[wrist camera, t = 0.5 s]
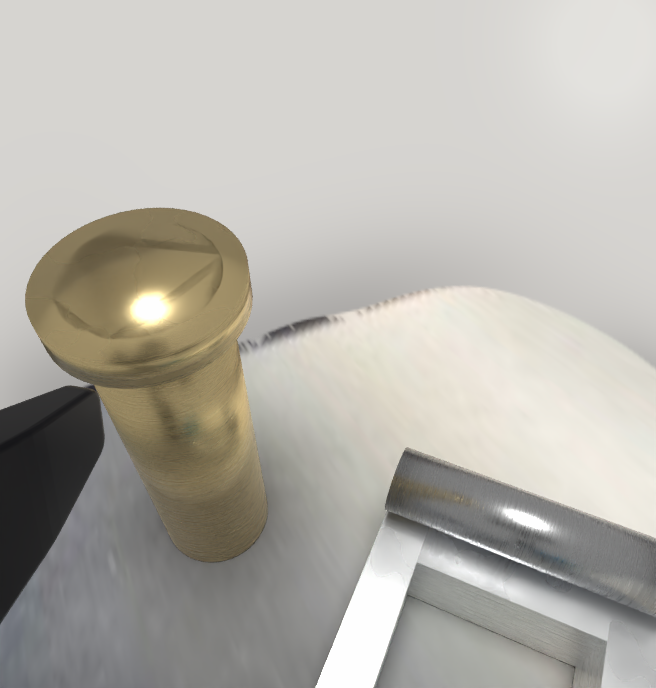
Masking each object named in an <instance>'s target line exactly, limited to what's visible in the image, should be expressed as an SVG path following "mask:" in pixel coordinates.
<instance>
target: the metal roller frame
mask: <svg viewBox="0 0 656 688" xmlns="http://www.w3.org/2000/svg"><path fill="white" fill-rule="evenodd" d="M385 510H387V512H386V514H385V517H384V519H383V522H382V524H381V527H380V529H379V532H378V534H377V537H376V539H375V542H374V544H373V547H372V549H371V552H370V554H369V557H368V559H367V562H366V564H365V567H364V569H363V572H362V574H361V577H360V579H359V582H358V584H357V587H356V589H355V592H354V594H353V597H352V599H351V602H350V604H349V607H348V609H347V612H346V614H345V617H344V619H343V622H342V624H341V627H340V629H339V632H338V634H337V636H336V639H335V641H334V644H333V646H332V649H331V651H330V654H329V656H328V659H327V661H326V664H325V666H324V669H323V671H322V674H321V676H320V679H319V681H318V684H317V686H316V688H375V687H376V685H377V682H378V679H379V676H380V673H381V670H382V667H383V664H384V661H385V659H386V656H387V653H388V650H389V647H390V644H391V641H392V638H393V635H394V633H395V630H396V627H397V624H398V621H399V618H400V615H401V612H402V610H403V607H404V604H405V601H406V598H407V595H410V596H412V597H414V598H417V599H419V600H421V601H424V602H426V603H428V604H431V605H433V606H435V607H437V608H440V609H442V610H444V611H447V612H449V613H451V614H454V615H456V616H458V617H461V618H463V619H465V620H468V621H470V622H472V623H474V624H477V625H479V626H481V627H484V628H486V629H488V630H491V631H493V632H495V633H498V634H500V635H502V636H505V637H507V638H509V639H511V640H514V641H516V642H518V643H521V644H523V645H525V646H528V647H530V648H532V649H535V650H537V651H539V652H541V653H544V654H546V655H548V656H551V657H553V658H555V659H558V660H560V661H562V662H565V663H567V664H569V665H572V666H574V667H575V672H574V678H573V684H572V688H656V538H654V537H651V536H648V535H645V534H643V533H640V532H637V531H635V530H632V529H629V528H626V527H624V526H621V525H618V524H615V523H613V522H610V521H607V520H605V519H602V518H599V517H596V516H594V515H591V514H588V513H585V512H583V511H580V510H577V509H575V508H572V507H569V506H566V505H564V504H561V503H558V502H555V501H553V500H550V499H547V498H545V497H542V496H539V495H536V494H534V493H531V492H528V491H525V490H523V489H520V488H517V487H514V486H512V485H509V484H506V483H504V482H501V481H498V480H495V479H493V478H490V477H487V476H484V475H482V474H479V473H476V472H474V471H471V470H468V469H465V468H463V467H460V466H457V465H454V464H452V463H449V462H446V461H444V460H441V459H438V458H435V457H433V456H430V455H427V454H424V453H422V452H419V451H416V450H413V449H411V448H408V447H407V448H406V449H405V450H404V452H403V454H402V457H401V459H400V461H399V464H398V466H397V469H396V471H395V474H394V477H393V480H392V483H391V486H390V489H389V493H388V496H387V500H386V504H385Z"/></svg>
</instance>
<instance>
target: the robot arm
mask: <svg viewBox="0 0 656 688" xmlns="http://www.w3.org/2000/svg"><path fill="white" fill-rule="evenodd" d="M104 439H105V435H104V427H103V419H102V412H101V404H100V398H99V395H98V393H97V392H96V391H94V390H93V389H89V388H83V387H77V386H65V387H61V388H59V389H56V390H53V391H51V392H48V393H45V394H42V395H40V396H37V397H34V398H32V399H29V400H26V401H23V402H21V403H18V404H15V405H13V406H10V407H7V408H4V409H2V410H0V624H1V622H2V621H3V619H4V618H5V616H6V615H7V613H8V612H9V610H10V609H11V607H12V606H13V604H14V603H15V601H16V600H17V598H18V597H19V595H20V594H21V592H22V591H23V589H24V588H25V586H26V585H27V583H28V582H29V580H30V579H31V577H32V576H33V574H34V573H35V571H36V570H37V568H38V567H39V565H40V564H41V562H42V561H43V559H44V558H45V556H46V554H47V553H48V551H49V550H50V548H51V546H52V545H53V543H54V542H55V540H56V538H57V536H58V535H59V533H60V531H61V529H62V527H63V525H64V524H65V522H66V520H67V518H68V516H69V514H70V512H71V510H72V508H73V506H74V504H75V502H76V501H77V499H78V497H79V495H80V493H81V491H82V489H83V487H84V485H85V483H86V481H87V479H88V478H89V476H90V474H91V472H92V470H93V468H94V466H95V464H96V462H97V460H98V458H99V456H100V454H101V452H102V449H103V446H104Z"/></svg>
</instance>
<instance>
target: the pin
mask: <svg viewBox="0 0 656 688" xmlns="http://www.w3.org/2000/svg"><path fill="white" fill-rule="evenodd" d="M252 297H253V296H252V288H251V282H250V274H249V267H248V260H247V256H246V253H245V250H244V248H243V246H242V244H241V243H240V241H239V240H238V238H237V237H236V236H235V235H234V234H233V233H232V232H231V231H230V230H229V229H228V228H227V227H225V226H224V225H222V224H221V223H219V222H218V221H215V220H214V219H211V218H209V217H207V216H204V215H202V214H199V213H196V212H191V211H187V210H180V209H174V208H145V209H136V210H131V211H125V212H120V213H117V214H113V215H109V216H106V217H104V218H101V219H98V220H95V221H93V222H91V223H89V224H87V225H84V226H83V227H81V228H79V229H77V230H75V231H73V232H72V233H70V234H69V235H67V236H66V237H64V238H63V239H61V240H60V241H59V242H58V243H57V244H55V245H54V246H53V247H52V248H51V249H50V250H49V251H48V252H47V253H46V254H45V255H44V256H43V257H42V259H41V260H40V261H39V263H38V264H37V265H36V267H35V269H34V271H33V272H32V274H31V276H30V279H29V282H28V284H27V289H26V294H25V305H26V310H27V315H28V317H29V319H30V322H31V324H32V326H33V327H34V329H35V331H36V333H37V335H38V337H39V338H40V340H41V342H42V343H43V345H44V347H45V349H46V351H47V353H48V354H49V355H50V357H51V358H52V360H53V361H54V362H55V363H56V364H57V365H58V366H59V367H60V368H61V369H62V370H64V371H66V372H67V373H68V374H70V375H71V376H73V377H75V378H77V379H80V380H82V381H84V382H87V383H90V384H93V385H94V386H95V388H96V390H97V392H98V394H99V396H100V398H101V400H102V402H103V404H104V406H105V408H106V410H107V412H108V414H109V416H110V418H111V420H112V422H113V424H114V426H115V428H116V430H117V432H118V434H119V436H120V438H121V440H122V442H123V444H124V446H125V448H126V450H127V452H128V454H129V456H130V458H131V459H132V461H133V463H134V465H135V467H136V469H137V471H138V473H139V475H140V477H141V479H142V481H143V483H144V485H145V487H146V489H147V491H148V493H149V495H150V497H151V499H152V501H153V503H154V505H155V507H156V509H157V511H158V513H159V515H160V517H161V519H162V521H163V523H164V525H165V527H166V529H167V531H168V533H169V535H170V537H171V539H172V541H173V543H174V544H175V546H176V547H177V548H178V549H179V550H180V551H181V552H182V553H184V554H185V555H187V556H189V557H190V558H193V559H195V560H199V561H203V562H220V561H225V560H228V559H231V558H234V557H236V556H238V555H240V554H241V553H243V552H244V551H246V550H247V549H248V548H250V547H251V546H252V545H253V544H254V543H255V541H256V540H257V539H258V538H259V536H260V534H261V533H262V531H263V528H264V526H265V523H266V520H267V514H268V506H267V499H266V493H265V488H264V483H263V477H262V472H261V466H260V461H259V456H258V450H257V445H256V439H255V434H254V429H253V423H252V418H251V412H250V407H249V401H248V396H247V391H246V385H245V380H244V374H243V369H242V364H241V358H240V353H239V347H238V342H237V339H238V337H239V336H240V334H241V333H242V331H243V329H244V328H245V326H246V324H247V321H248V319H249V317H250V313H251V308H252Z"/></svg>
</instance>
